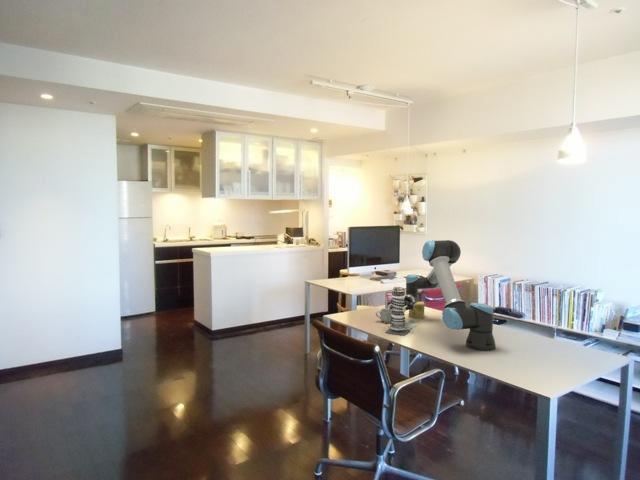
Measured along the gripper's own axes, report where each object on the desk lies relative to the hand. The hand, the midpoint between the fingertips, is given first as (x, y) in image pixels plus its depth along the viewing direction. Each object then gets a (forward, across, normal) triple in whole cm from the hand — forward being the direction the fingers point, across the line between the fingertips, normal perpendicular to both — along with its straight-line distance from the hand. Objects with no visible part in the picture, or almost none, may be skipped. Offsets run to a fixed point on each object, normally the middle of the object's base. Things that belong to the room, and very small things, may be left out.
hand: (395, 308), depth 255 cm
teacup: (-23, +14, -15) cm, 31 cm away
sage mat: (-21, 0, -15) cm, 26 cm away
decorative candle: (-5, 0, -13) cm, 14 cm away
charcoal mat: (-5, 0, -15) cm, 16 cm away
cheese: (-46, 0, -16) cm, 48 cm away
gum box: (-44, +18, -16) cm, 50 cm away
